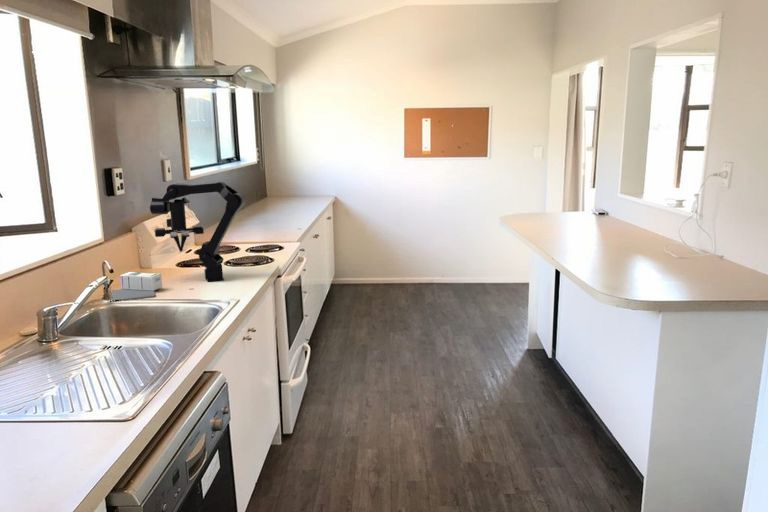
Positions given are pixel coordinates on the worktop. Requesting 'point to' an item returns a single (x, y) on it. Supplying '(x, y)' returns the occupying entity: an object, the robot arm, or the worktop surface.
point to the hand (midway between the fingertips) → (180, 251)
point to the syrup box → (141, 281)
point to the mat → (131, 294)
